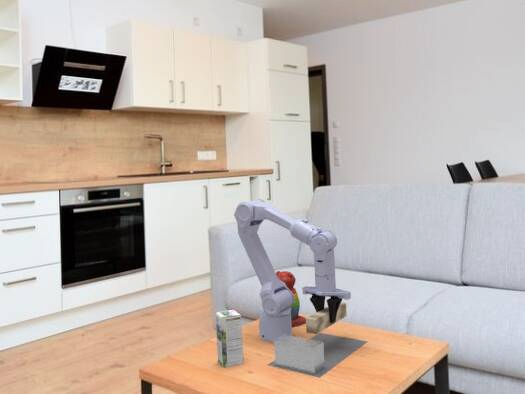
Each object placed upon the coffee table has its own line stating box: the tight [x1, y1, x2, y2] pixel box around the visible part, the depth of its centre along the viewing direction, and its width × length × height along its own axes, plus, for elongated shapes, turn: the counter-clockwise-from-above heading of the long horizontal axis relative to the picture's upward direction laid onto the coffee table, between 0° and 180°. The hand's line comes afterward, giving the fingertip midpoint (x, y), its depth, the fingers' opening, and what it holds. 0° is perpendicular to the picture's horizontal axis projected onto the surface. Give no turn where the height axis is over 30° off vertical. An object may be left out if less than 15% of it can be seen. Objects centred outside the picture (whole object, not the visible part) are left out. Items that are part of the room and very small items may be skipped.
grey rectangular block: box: [273, 335, 325, 374], centre depth 131 cm, size 12×5×7 cm, turn 54°
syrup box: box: [215, 309, 244, 369], centre depth 137 cm, size 6×6×14 cm
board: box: [267, 332, 368, 378], centre depth 140 cm, size 16×28×1 cm, turn 144°
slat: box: [305, 301, 347, 335], centre depth 143 cm, size 18×3×4 cm, turn 144°
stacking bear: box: [275, 270, 307, 328], centre depth 170 cm, size 11×10×18 cm
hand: (327, 321), depth 143 cm, fingers closed on slat, 3 cm apart
